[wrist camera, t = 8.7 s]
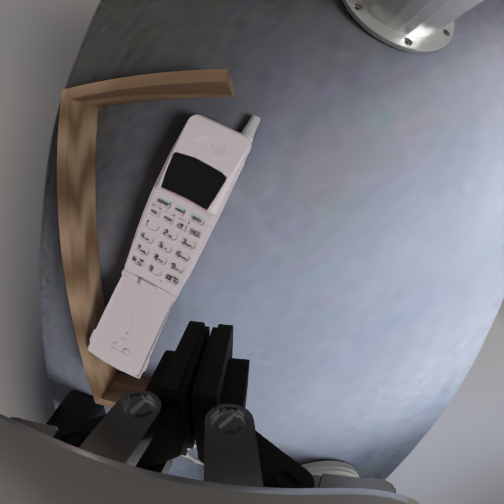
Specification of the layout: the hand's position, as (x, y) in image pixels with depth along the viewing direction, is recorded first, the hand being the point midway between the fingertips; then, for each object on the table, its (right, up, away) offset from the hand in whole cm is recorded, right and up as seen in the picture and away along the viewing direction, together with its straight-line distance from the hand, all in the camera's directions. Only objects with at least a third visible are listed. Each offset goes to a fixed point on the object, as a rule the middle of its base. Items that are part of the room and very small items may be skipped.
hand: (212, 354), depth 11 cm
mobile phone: (-5, +5, +16) cm, 18 cm away
